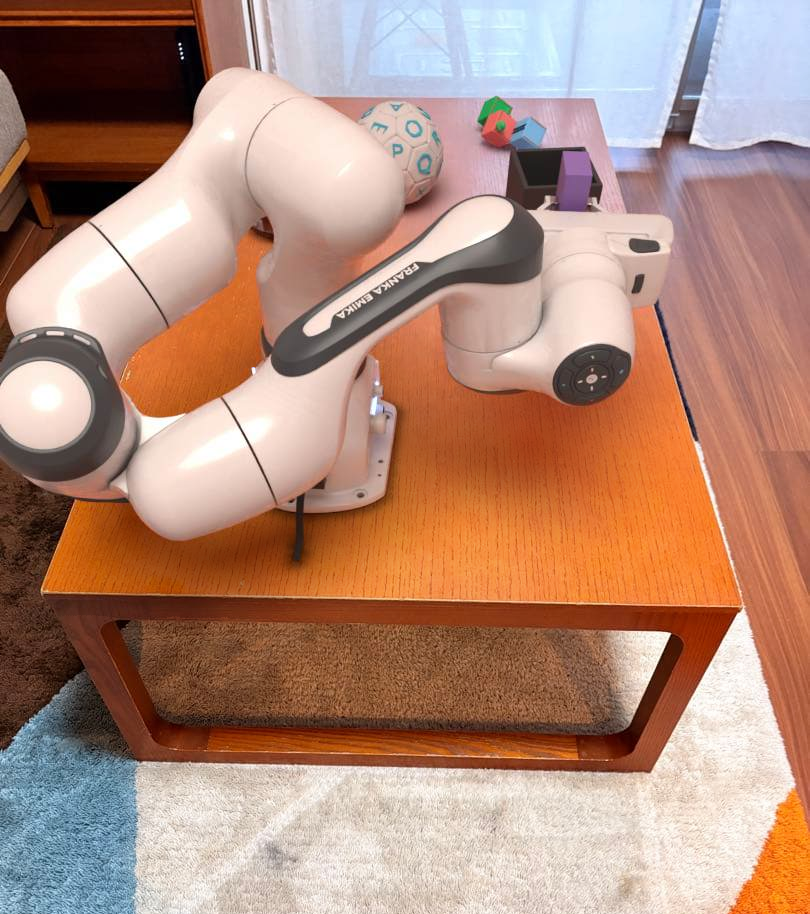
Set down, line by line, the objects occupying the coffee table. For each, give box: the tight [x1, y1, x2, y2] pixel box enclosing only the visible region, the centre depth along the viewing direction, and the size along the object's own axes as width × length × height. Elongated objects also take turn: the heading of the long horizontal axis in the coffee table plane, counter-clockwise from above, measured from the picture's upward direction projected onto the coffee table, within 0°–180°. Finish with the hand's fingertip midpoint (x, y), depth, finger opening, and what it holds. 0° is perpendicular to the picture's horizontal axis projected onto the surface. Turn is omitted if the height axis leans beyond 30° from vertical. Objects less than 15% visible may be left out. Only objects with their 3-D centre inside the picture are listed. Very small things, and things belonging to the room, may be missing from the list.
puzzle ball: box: [357, 100, 444, 206], centre depth 130 cm, size 15×15×15 cm
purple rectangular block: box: [556, 151, 593, 212], centre depth 91 cm, size 5×3×11 cm, turn 177°
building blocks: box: [477, 95, 548, 149], centre depth 145 cm, size 8×8×12 cm
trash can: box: [504, 146, 604, 210], centre depth 121 cm, size 11×11×14 cm
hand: (569, 202), depth 91 cm, fingers closed on purple rectangular block, 3 cm apart
